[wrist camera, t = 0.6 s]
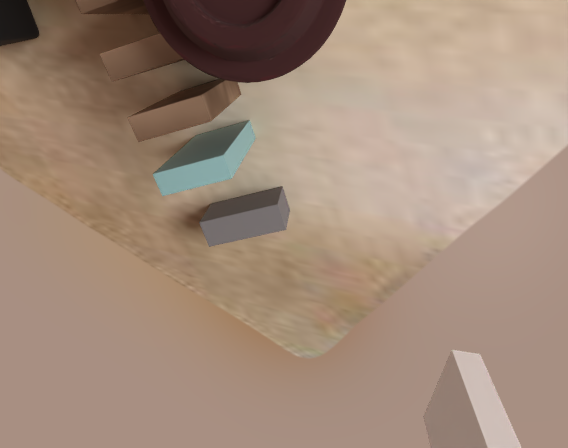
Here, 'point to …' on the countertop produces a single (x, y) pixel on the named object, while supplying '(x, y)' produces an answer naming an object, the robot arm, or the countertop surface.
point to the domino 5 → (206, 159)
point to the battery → (16, 22)
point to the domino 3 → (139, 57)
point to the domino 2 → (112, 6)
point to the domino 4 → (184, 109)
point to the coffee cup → (245, 34)
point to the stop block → (245, 217)
